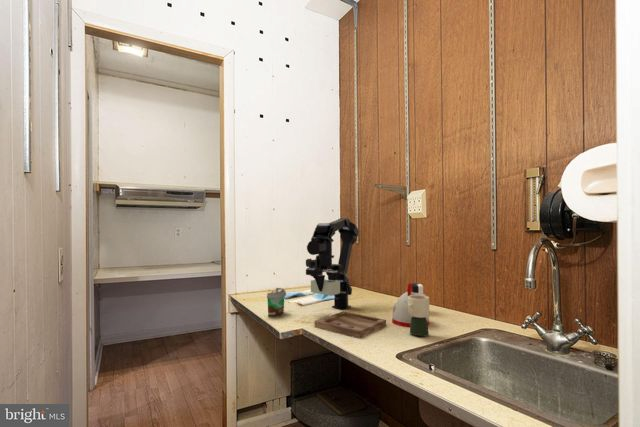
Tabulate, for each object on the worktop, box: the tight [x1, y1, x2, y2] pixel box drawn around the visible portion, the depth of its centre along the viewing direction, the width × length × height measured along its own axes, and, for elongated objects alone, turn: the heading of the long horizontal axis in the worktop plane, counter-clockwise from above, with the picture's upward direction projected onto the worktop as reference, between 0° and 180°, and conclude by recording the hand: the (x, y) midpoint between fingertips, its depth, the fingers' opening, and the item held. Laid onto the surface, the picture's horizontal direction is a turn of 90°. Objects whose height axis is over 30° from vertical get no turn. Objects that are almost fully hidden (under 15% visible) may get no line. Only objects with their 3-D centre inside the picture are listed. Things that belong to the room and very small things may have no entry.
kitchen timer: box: [391, 282, 430, 329], centre depth 132 cm, size 14×14×15 cm
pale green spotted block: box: [310, 278, 340, 296], centre depth 144 cm, size 6×11×5 cm, turn 49°
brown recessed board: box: [314, 310, 387, 339], centre depth 128 cm, size 18×20×2 cm
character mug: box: [408, 295, 430, 337], centre depth 117 cm, size 11×7×13 cm, turn 127°
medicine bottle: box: [411, 283, 426, 296], centre depth 148 cm, size 7×7×12 cm
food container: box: [266, 287, 287, 318], centre depth 146 cm, size 12×6×10 cm, turn 168°
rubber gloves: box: [285, 289, 335, 307], centre depth 180 cm, size 27×33×6 cm
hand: (325, 290), depth 143 cm, fingers closed on pale green spotted block, 6 cm apart
